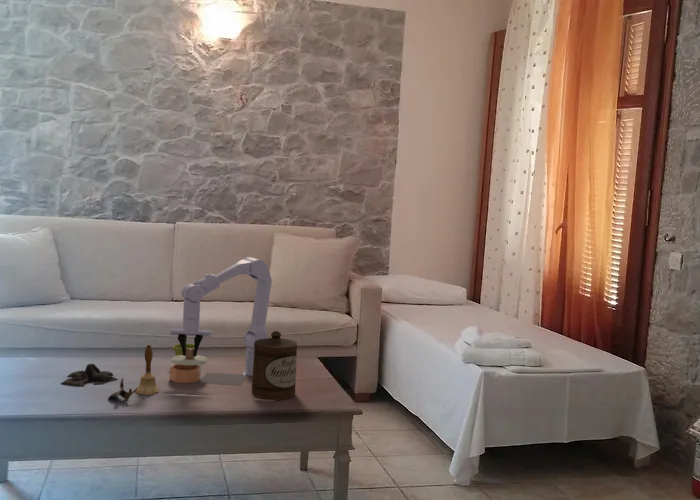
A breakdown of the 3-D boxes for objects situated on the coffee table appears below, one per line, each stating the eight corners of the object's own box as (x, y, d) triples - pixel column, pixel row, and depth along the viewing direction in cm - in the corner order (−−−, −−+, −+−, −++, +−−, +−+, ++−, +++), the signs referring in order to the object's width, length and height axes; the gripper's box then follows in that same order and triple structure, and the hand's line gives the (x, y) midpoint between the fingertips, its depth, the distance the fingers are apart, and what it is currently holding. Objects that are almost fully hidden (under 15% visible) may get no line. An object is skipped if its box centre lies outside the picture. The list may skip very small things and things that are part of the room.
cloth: (59, 389, 251) (60, 371, 250) (60, 375, 268) (61, 358, 268) (128, 386, 259) (129, 369, 258) (125, 373, 276) (125, 356, 275)
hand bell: (162, 393, 250) (164, 347, 249) (137, 395, 247) (138, 348, 245) (157, 387, 258) (158, 341, 256) (132, 389, 254) (133, 342, 253)
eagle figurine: (142, 396, 242) (126, 385, 248) (134, 381, 238) (118, 370, 244) (123, 412, 238) (108, 400, 244) (115, 397, 234) (99, 385, 240)
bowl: (201, 377, 273) (202, 364, 273) (196, 385, 263) (196, 371, 263) (174, 376, 273) (175, 362, 273) (167, 383, 263) (168, 369, 263)
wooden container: (272, 403, 246) (275, 337, 245) (242, 393, 256) (245, 330, 254) (303, 395, 258) (307, 332, 256) (274, 386, 267) (277, 325, 265)
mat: (246, 376, 278) (246, 374, 278) (240, 387, 263) (240, 385, 263) (206, 374, 278) (206, 372, 278) (197, 384, 264) (197, 383, 263)
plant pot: (170, 366, 287) (170, 344, 286) (194, 364, 291) (195, 343, 290) (175, 372, 279) (175, 349, 278) (200, 370, 283) (201, 348, 282)
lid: (213, 359, 272) (213, 347, 271) (197, 367, 260) (197, 354, 260) (182, 355, 275) (183, 343, 275) (165, 362, 263) (165, 350, 263)
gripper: (213, 317, 271) (211, 354, 272) (173, 315, 270) (171, 352, 271) (210, 320, 264) (208, 358, 265) (169, 318, 263) (167, 356, 264)
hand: (189, 355), depth 268 cm, fingers closed on lid, 3 cm apart
